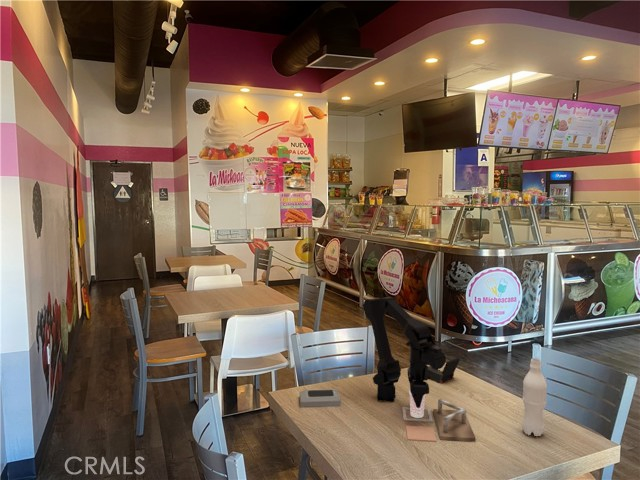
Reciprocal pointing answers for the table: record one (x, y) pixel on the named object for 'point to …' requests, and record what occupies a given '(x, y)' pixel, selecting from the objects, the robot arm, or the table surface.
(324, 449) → the table surface
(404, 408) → the frame
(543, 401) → the water bottle
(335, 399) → the keypad
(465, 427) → the wire board
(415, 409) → the beverage cup
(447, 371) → the dark piece
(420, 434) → the end mat
